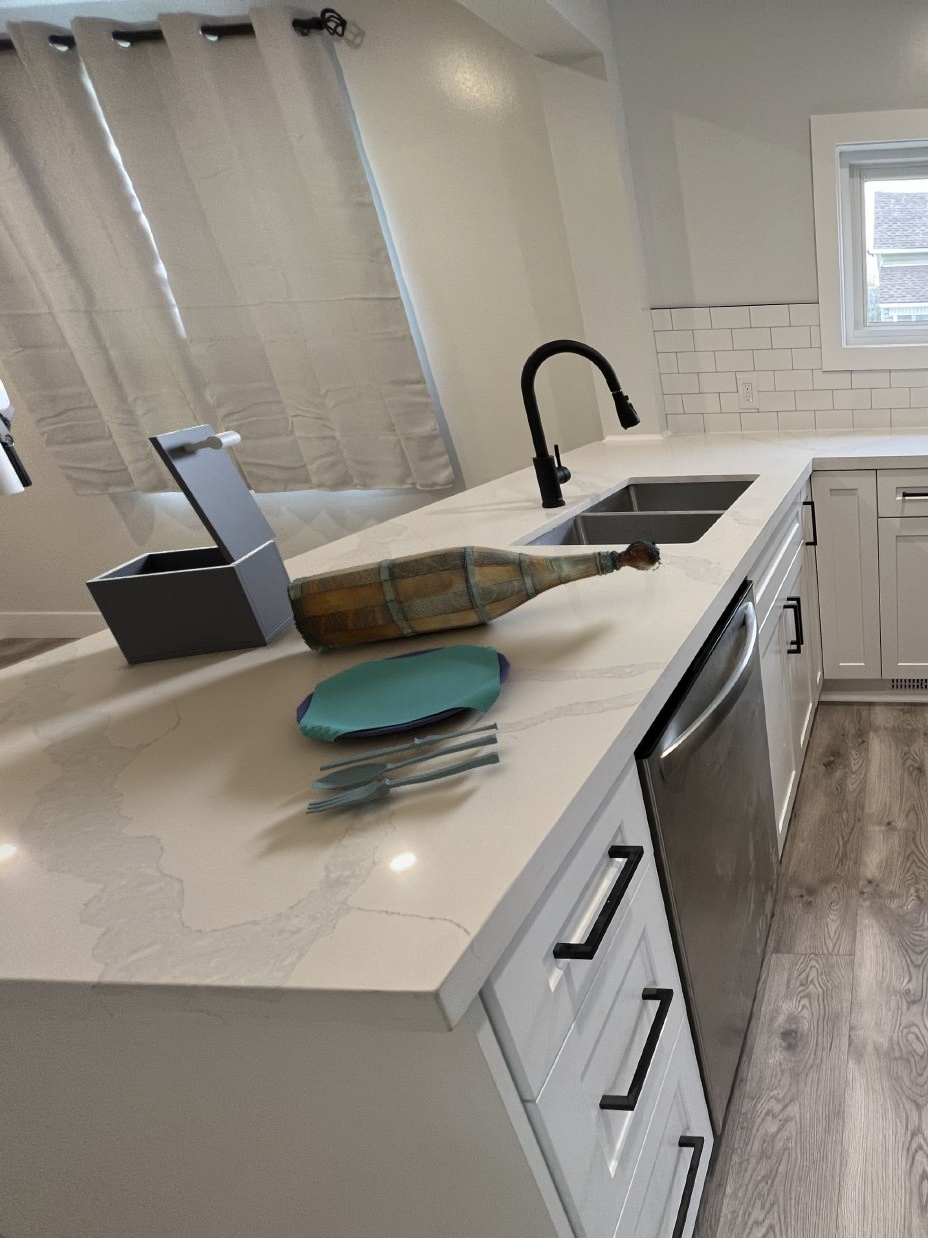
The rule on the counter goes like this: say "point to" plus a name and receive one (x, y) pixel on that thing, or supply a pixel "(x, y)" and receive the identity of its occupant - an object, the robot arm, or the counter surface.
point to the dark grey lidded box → (194, 602)
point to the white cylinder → (8, 476)
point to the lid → (215, 488)
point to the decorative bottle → (438, 590)
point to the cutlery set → (401, 714)
